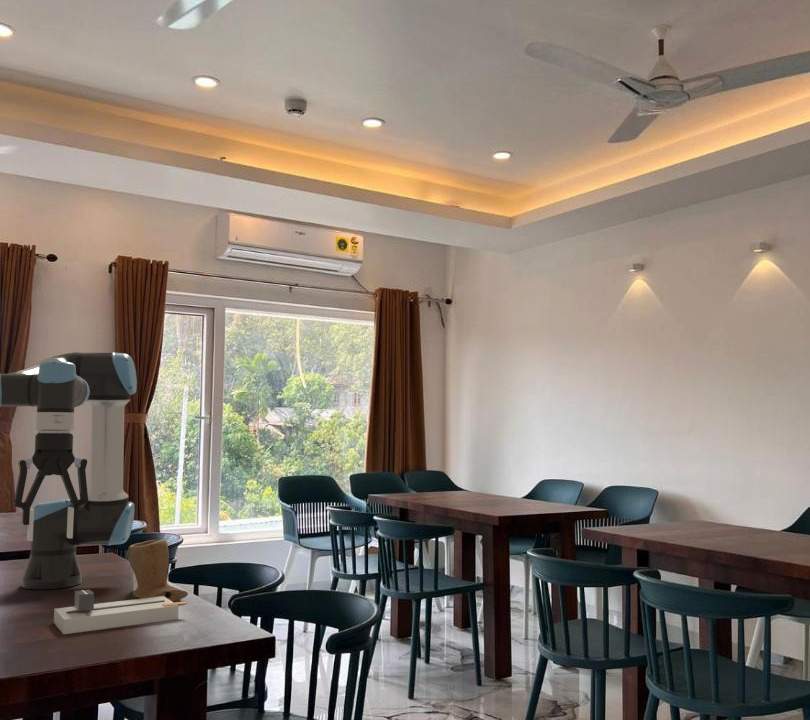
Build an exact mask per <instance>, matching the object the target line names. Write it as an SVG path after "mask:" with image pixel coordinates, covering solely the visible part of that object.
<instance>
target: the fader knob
mask: <svg viewBox="0 0 810 720" xmlns="http://www.w3.org/2000/svg"><path fill="white" fill-rule="evenodd" d="M94 604H95V593H94V592H93V591H92V590H90V589H81V590H74V607H75V608H76V609H77V610H78V611H79V612H81V611H89V610H94Z"/></svg>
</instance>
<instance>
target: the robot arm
mask: <svg viewBox="0 0 810 720" xmlns="http://www.w3.org/2000/svg"><path fill="white" fill-rule="evenodd" d="M137 385H138V380H137V371H136V366H135V363H134V360H133V358H132V356H131V355H129V354H128V353H123V352H79V351H77V352H67V353H63V354H62V353H61V354H59V355H53V356H51V357H48V358H45V359H42V360H40V361H38V363H36V365H33V366H32V367H31V366H30V367H27V368H24V369H21V370H17V371H15V372H10V373H0V408H2V407H36V419H35V430H36V431H38V433H36V434H35V440H34V454H33V455H32V457H31V458H27V459H19V460H18V462H17V464H18V469H19V473H18V478H17V482H16V483H17V484H16V487H15V488H16V489H15V493H14V500H13V505H14V507H16V508H19V509H21V510H22V518H21V519H22V521H21V522H22V525H23V526H27V532H26V541H28V542H30V552H29V553H30V554H29V559H28V562H27V565H26V567H25V570H24V572H23V574H22V578H21V588H23V589H27V590H56V589H63V588H69V587H74V586H77V585H80V584H82V582H83V580H82V579H83V576H82V575H83V574H82V571H81V568H80V564H79V561H78V557H77V546H104V545H105V546H112V545H113V546H114V545H122V544H124V543H126V542H127V541H128V540H129V538H130V536H131V531H132V530H133V529H132V528H133V525H134V524H133V523H134V519H135V506H136V505H135V503H134V502H132V501H129V494H128V493H126V492H125V491H124V454H125V453H124V452H125V450H124V445H125V407H126V405H127V404H128V403H129V402H130V401H131V396H132V395H135V394H136V393H137V389H138V388H137V387H138V386H137ZM86 402H88V404H89V405H90V406H91V441H90V443H91V445H90V451H91V452H90V491H89V493H88V484H87V482H88V481H87V474H86V473H87V472H86V468H87V465H88V459H86V458H78V457H75V454H74V452H73V451H74V448H73V447H74V446H73V445H74V434H73V433H71V432H72V431H73V430H74V427H75V426H74V425H75V423H74V419H75V418H74V417H75V408H77V407H80V406H82V405H84V403H86ZM32 464H33V465H34V467H36V469H37V470H38V471H37V472H36V476H35V478H34V480H33V481H32V482H33V483H32V485H31V487H30V489H29V491H28V493H27V495H26V497H25V500H24V501H23V497H24V491H25V487H26V481H27V475H28V470H30V468H31V467H32V466H31V465H32ZM72 464H75V465H74V466H75V468H77V479H78V481H77V482H78V491H79V499H78V495H77V494H76V491H75V488H74V486H73V483H72V480H71V478H70V474H69V471H68V469H70V467H71V466H72ZM53 475H55V476H60V479H61V481H62V482H63V486H64V488H65V491H66V493H67V496H68V498H63V499H56V500H50V501H45V502H40V503H37V504H36V505H34V507H33V508H31V507H32V505H33V502H34V501H35V498H36V497H37V494H38V492H39V489H40V488H41V485H42V484H43V483H42V482H43V481H44V480H45V477H46V476H53Z"/></svg>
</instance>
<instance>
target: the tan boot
mask: <svg viewBox="0 0 810 720" xmlns="http://www.w3.org/2000/svg"><path fill="white" fill-rule="evenodd" d="M169 552H170V551H169V545H168V542H167V540H166V539H163V538H162V539H151V540H150V539H149V540H146V541H143V542H137V543H134V544H131V545H130V546H128V549H127V554H128V561H129V564H130V567H131V569H132V572H133V571H134V573H135V576H136V579H137V583H138V587H137V589H136V590H135V591H134V590H133V591H132V595H133V597H135V598H137V599H143V598H151V597H160V596H164V597H166V598H167V599H169V600H170V601H172V602H174V603H175V602H179V601H180V600H182V599H185V598H186V597H187V596H189V593H188V591H185V590H182V589H179V588H177V587H174V586H171V585H170V584H169V583H168V581H167V579H168V569H169V568H168V567H169V563H170V555H169V554H170V553H169Z"/></svg>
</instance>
